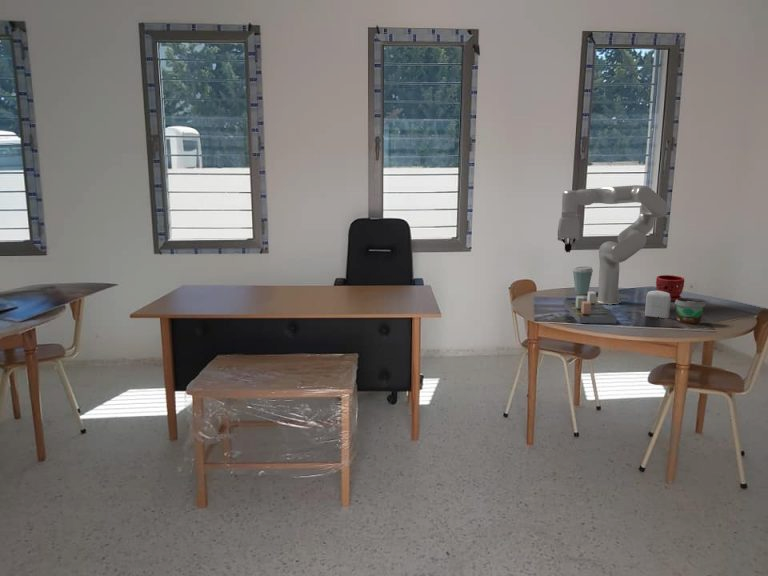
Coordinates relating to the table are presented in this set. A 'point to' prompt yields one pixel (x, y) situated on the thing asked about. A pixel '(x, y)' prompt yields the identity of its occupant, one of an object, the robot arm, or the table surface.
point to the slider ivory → (591, 297)
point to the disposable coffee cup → (582, 279)
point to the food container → (689, 311)
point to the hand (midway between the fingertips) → (567, 251)
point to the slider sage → (579, 301)
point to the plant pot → (670, 285)
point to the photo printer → (658, 304)
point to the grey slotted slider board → (591, 313)
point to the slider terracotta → (585, 307)
